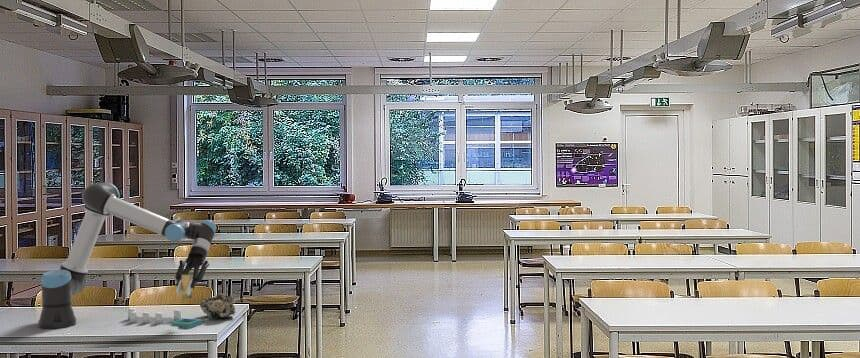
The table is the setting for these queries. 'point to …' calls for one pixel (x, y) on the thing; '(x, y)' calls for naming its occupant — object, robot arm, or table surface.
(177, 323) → the tray
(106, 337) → the table surface
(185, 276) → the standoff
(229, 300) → the mineral specimen
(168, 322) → the board
